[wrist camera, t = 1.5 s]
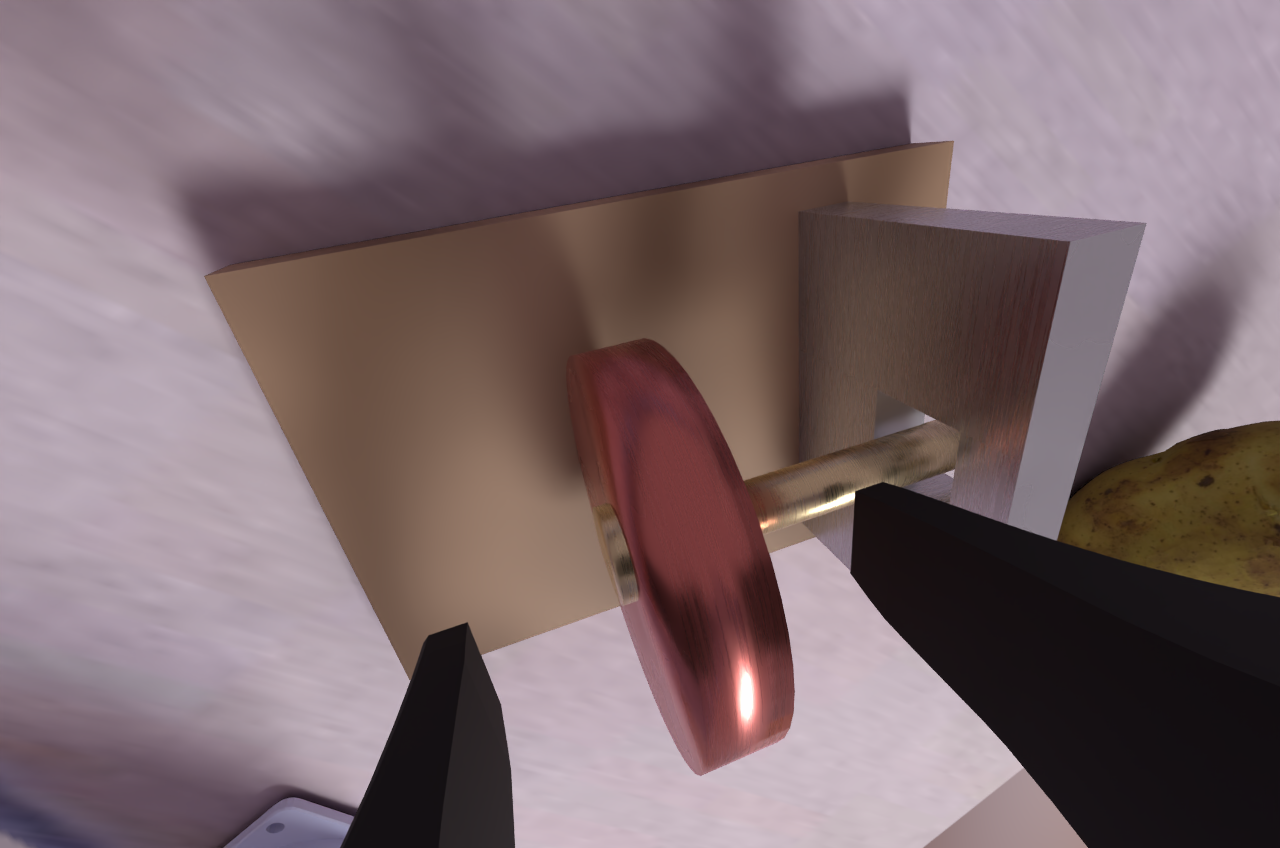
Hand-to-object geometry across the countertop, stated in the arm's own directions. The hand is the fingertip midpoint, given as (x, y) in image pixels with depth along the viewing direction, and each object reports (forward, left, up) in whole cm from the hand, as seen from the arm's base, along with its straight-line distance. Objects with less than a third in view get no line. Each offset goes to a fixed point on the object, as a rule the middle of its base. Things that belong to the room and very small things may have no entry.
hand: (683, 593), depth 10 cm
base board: (+2, -1, -8) cm, 8 cm away
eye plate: (+6, -3, -6) cm, 9 cm away
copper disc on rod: (+4, -2, -6) cm, 7 cm away
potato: (+16, -21, -8) cm, 28 cm away
